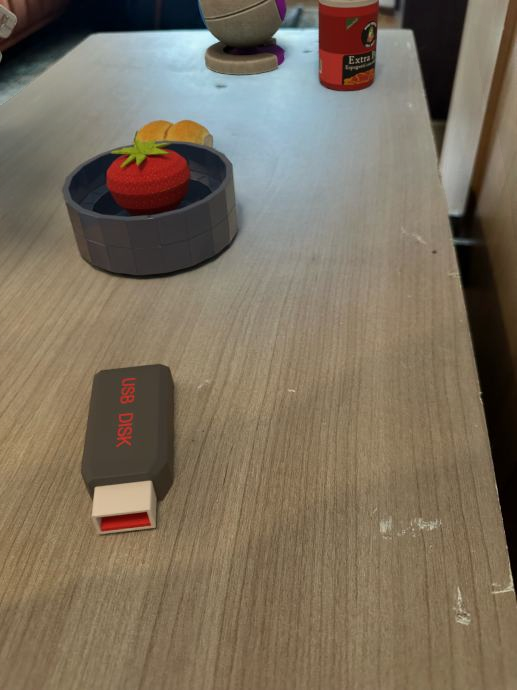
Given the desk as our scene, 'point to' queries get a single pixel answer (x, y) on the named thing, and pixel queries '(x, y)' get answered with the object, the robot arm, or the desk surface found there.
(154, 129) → the bread roll
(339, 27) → the canned food
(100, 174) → the bowl
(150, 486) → the usb drive
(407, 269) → the desk surface
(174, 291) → the desk surface
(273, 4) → the webcam
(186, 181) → the strawberry
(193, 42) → the desk surface
